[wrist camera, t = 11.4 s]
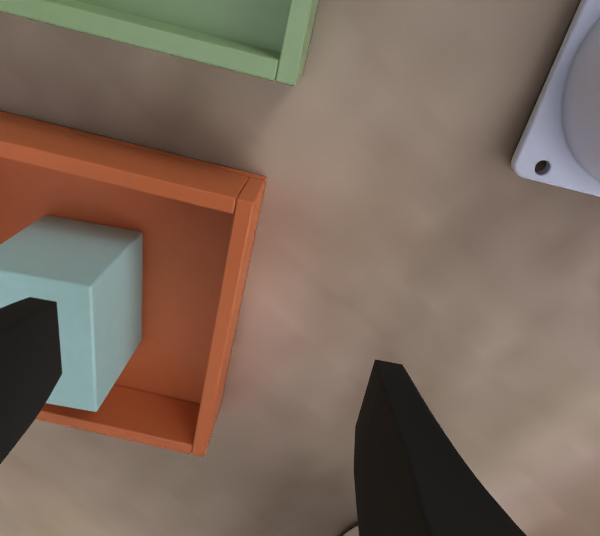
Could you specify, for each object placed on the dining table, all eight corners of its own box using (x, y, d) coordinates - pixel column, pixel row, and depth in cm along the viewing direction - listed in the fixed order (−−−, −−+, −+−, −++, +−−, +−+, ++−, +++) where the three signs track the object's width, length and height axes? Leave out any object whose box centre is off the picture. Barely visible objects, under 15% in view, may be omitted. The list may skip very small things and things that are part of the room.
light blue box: (143, 231, 20) (91, 286, 16) (142, 340, 22) (96, 413, 18) (45, 213, 20) (-34, 265, 16) (55, 324, 22) (-11, 394, 18)
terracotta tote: (267, 176, 19) (254, 202, 16) (219, 409, 24) (203, 458, 22) (-51, 97, 18) (-119, 110, 16) (-26, 353, 24) (-72, 395, 21)
